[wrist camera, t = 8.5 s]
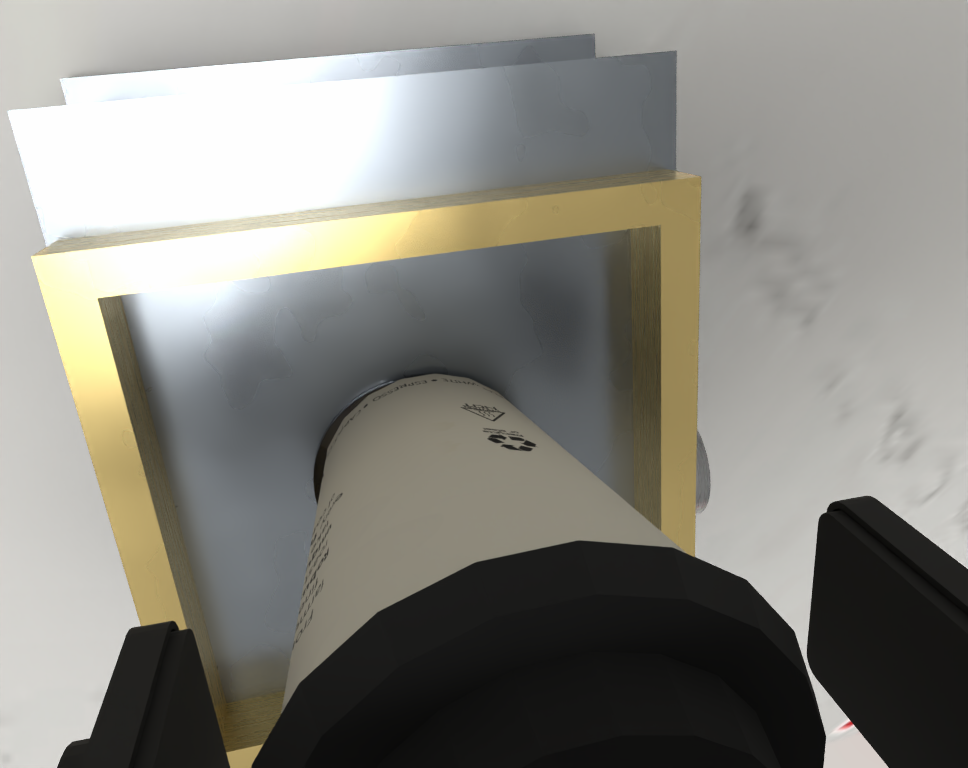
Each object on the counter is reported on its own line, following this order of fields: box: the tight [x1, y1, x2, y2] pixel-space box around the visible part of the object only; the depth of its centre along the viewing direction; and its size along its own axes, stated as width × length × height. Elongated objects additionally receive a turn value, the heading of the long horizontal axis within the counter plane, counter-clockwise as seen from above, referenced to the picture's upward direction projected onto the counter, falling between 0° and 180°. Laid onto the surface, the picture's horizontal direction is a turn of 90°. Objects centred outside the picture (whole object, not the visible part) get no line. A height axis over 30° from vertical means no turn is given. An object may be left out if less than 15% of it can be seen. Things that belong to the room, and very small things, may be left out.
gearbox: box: [7, 34, 710, 768], centre depth 20 cm, size 17×15×8 cm
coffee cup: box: [251, 374, 826, 768], centre depth 13 cm, size 7×7×10 cm
